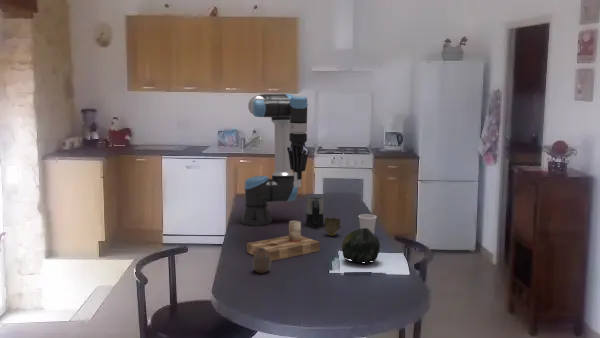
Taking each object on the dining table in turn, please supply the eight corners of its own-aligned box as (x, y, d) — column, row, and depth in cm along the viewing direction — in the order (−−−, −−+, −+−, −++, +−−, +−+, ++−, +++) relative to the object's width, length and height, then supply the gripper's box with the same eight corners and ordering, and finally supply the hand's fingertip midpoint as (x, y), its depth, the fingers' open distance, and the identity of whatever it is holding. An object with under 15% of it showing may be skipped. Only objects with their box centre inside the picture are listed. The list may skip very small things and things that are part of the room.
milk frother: (302, 224, 316) (302, 194, 314) (331, 221, 322) (331, 193, 319) (313, 230, 303) (314, 200, 300) (343, 227, 308) (343, 198, 306)
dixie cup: (363, 234, 296) (364, 213, 294) (379, 236, 291) (380, 215, 289) (354, 237, 289) (355, 216, 287) (370, 240, 284) (371, 218, 283)
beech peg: (286, 248, 268) (286, 221, 266) (295, 246, 271) (296, 220, 269) (293, 250, 264) (293, 223, 262) (303, 248, 267) (303, 222, 265)
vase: (252, 268, 239) (252, 246, 238) (270, 268, 240) (270, 246, 239) (252, 274, 233) (252, 251, 231) (271, 274, 233) (271, 251, 232)
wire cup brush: (338, 237, 288) (339, 220, 287) (322, 237, 289) (323, 220, 288) (340, 234, 295) (341, 217, 294) (325, 233, 297) (325, 216, 296)
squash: (341, 241, 260) (343, 220, 248) (377, 243, 259) (381, 222, 248) (340, 271, 250) (343, 251, 239) (378, 273, 250) (382, 253, 239)
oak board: (247, 252, 262) (247, 243, 261) (296, 243, 278) (296, 234, 277) (269, 261, 250) (269, 251, 249) (319, 250, 266) (319, 241, 265)
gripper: (282, 131, 272) (281, 185, 276) (300, 134, 262) (299, 190, 266) (296, 130, 277) (295, 183, 281) (314, 133, 267) (313, 188, 271)
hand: (297, 186), depth 274 cm, fingers closed
